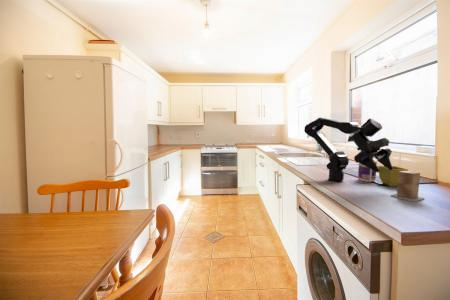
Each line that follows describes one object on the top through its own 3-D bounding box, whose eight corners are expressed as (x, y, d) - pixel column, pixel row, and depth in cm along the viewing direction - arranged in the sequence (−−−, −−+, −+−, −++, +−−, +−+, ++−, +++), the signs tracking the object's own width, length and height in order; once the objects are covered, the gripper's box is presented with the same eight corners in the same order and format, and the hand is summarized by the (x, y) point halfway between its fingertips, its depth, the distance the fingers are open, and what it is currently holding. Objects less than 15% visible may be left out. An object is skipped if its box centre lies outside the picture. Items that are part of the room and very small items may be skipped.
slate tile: (390, 196, 93) (390, 194, 93) (401, 193, 96) (401, 192, 96) (413, 201, 86) (413, 200, 86) (424, 199, 89) (424, 197, 89)
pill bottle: (370, 179, 125) (372, 153, 123) (378, 182, 117) (380, 155, 115) (355, 178, 125) (356, 153, 124) (362, 182, 117) (364, 155, 116)
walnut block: (396, 195, 92) (399, 171, 91) (403, 193, 94) (405, 170, 93) (411, 198, 88) (413, 173, 87) (417, 197, 90) (420, 172, 89)
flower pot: (407, 187, 107) (408, 169, 106) (388, 187, 107) (390, 168, 107) (393, 183, 116) (395, 166, 115) (376, 182, 116) (378, 165, 115)
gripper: (362, 132, 97) (387, 162, 88) (389, 131, 104) (414, 158, 96) (345, 148, 105) (366, 176, 97) (371, 146, 112) (392, 172, 104)
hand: (385, 170), depth 98 cm, fingers open, 9 cm apart
